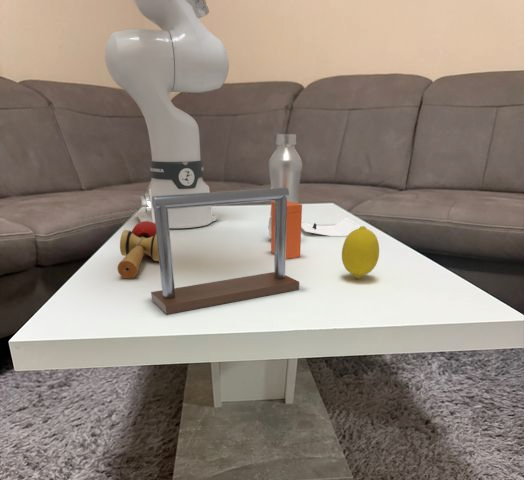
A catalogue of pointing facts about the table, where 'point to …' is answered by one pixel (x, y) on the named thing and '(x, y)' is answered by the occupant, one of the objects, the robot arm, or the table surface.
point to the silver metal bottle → (285, 168)
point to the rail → (226, 289)
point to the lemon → (360, 252)
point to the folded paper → (332, 228)
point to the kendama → (137, 247)
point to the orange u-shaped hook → (289, 229)
